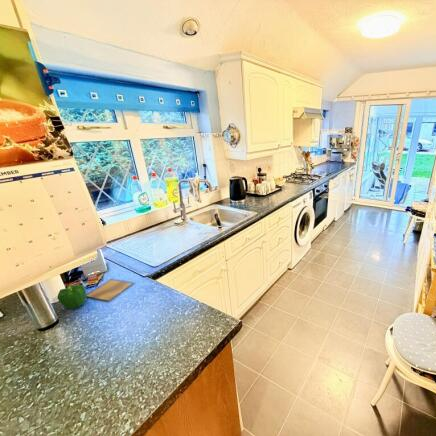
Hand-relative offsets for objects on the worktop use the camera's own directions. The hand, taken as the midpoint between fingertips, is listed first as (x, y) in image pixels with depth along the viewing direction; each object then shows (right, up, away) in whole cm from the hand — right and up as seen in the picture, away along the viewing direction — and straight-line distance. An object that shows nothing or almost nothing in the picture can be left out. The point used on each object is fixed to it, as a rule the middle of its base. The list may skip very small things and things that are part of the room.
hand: (86, 241), depth 121 cm
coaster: (+23, -21, -14) cm, 34 cm away
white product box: (+5, -15, 0) cm, 16 cm away
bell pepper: (+16, -25, -23) cm, 37 cm away
